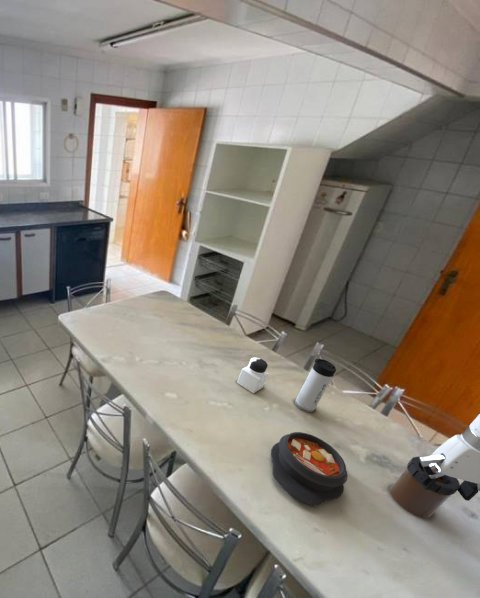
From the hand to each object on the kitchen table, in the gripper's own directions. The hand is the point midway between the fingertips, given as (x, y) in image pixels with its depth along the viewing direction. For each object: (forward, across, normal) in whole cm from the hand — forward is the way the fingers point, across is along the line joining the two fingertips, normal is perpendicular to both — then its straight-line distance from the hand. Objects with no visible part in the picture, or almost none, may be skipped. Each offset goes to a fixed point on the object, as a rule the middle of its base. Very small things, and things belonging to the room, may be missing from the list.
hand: (442, 489), depth 83 cm
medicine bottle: (+11, +36, -40) cm, 55 cm away
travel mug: (+11, +18, -35) cm, 41 cm away
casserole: (+11, +27, -4) cm, 29 cm away
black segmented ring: (+1, 0, -4) cm, 4 cm away
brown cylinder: (+11, 0, -4) cm, 12 cm away
